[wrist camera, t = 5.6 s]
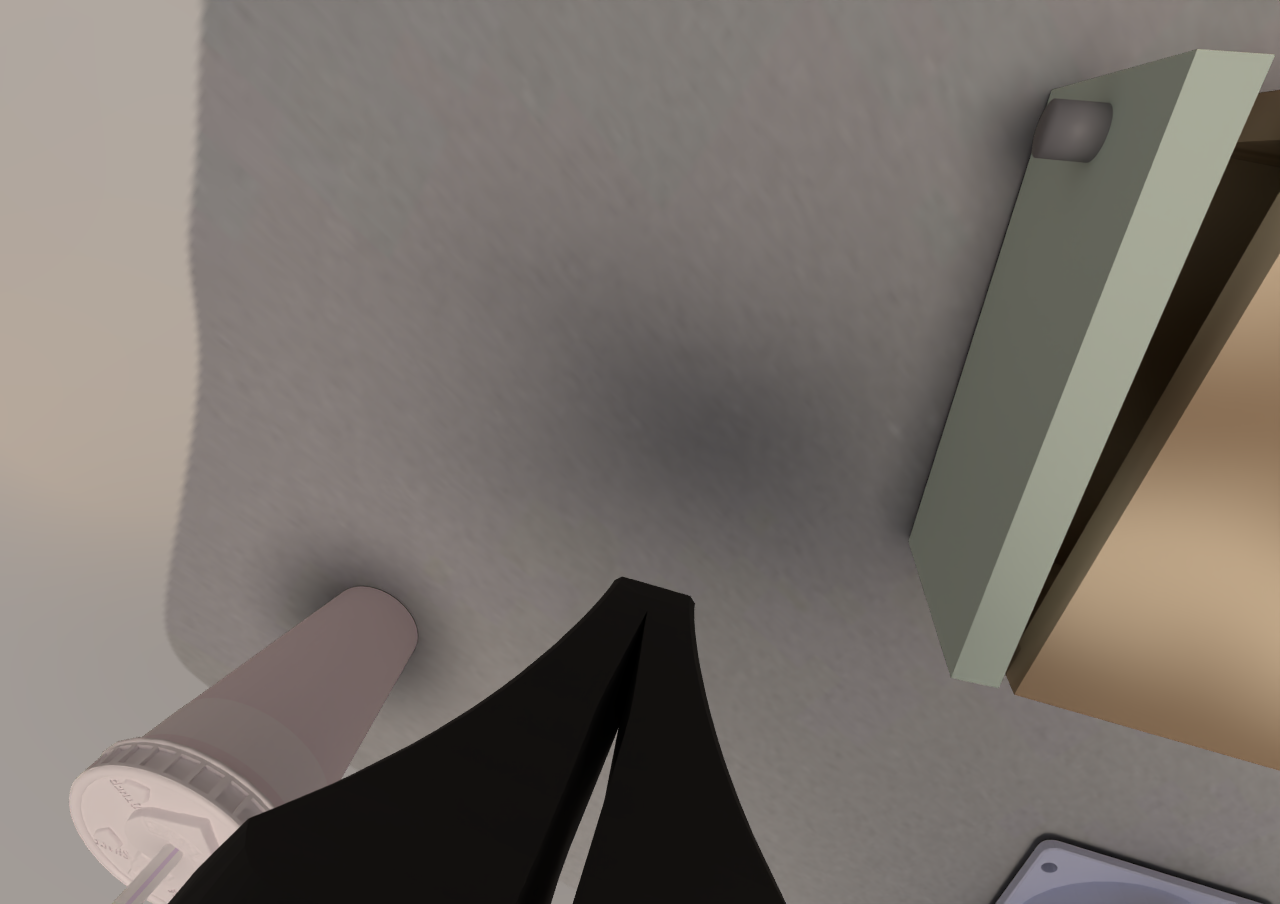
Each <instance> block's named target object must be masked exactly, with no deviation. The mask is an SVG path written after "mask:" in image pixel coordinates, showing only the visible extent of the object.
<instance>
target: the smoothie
mask: <svg viewBox="0 0 1280 904" xmlns="http://www.w3.org/2000/svg"><path fill="white" fill-rule="evenodd" d="M417 640H418V633H417V627H416V624H415V622H414V620H413V618H412V616H411V615H410V613H409V612H408V610H407V609H406V608H405V607H404V606H403V605H402V604H401V603H400V602H399V601H398V600H397V599H395V598H394V597H392V596H391V595H389V594H387V593H385V592H383V591H381V590H378V589H375V588H371V587H364V586H359V587H352V588H349V589H347V590H345V591H343V592H342V593H341V594H339V595H338V596H336V597H335V598H334V599H332V600H331V601H330V602H328V603H327V604H325V605H324V606H323V607H321V608H320V609H318V610H317V611H316V612H314V613H313V614H311V615H310V616H309V617H307V618H306V619H305V620H303V621H302V622H300V623H299V624H298V625H296V626H295V627H293V628H292V629H291V630H289V631H288V632H286V633H285V634H284V635H282V636H281V637H280V638H278V639H277V640H275V641H274V642H273V643H271V644H270V645H268V646H267V647H266V648H264V649H263V650H261V651H260V652H259V653H257V654H256V655H255V656H253V657H252V658H250V659H249V660H248V661H246V662H245V663H243V664H242V665H241V666H239V667H238V668H236V669H235V670H234V671H232V672H231V673H230V674H228V675H227V676H225V677H224V678H223V679H221V680H220V681H218V682H217V683H216V684H214V685H213V686H212V687H210V688H209V689H207V690H206V691H205V692H203V693H202V694H200V695H199V696H198V697H196V698H195V699H193V700H192V701H191V702H189V703H188V704H186V705H184V706H183V707H182V708H180V709H179V710H178V711H176V712H175V713H174V714H172V715H171V716H170V717H168V718H167V719H165V720H164V721H163V722H161V723H160V724H159V725H158V726H156V727H155V728H154V729H152V730H151V731H149V732H148V733H147V734H145V735H144V736H143V737H137V738H132V739H126V740H121V741H118V742H116V743H115V744H113V745H112V746H110V747H109V748H107V749H106V750H105V751H103V753H102V754H101V756H100V758H99V759H98V760H97V761H95V762H94V763H93V764H92V765H91V766H90V767H88V768H87V769H86V770H85V771H84V772H83V773H81V774H80V775H79V776H78V777H77V778H76V779H75V781H74V783H73V784H72V787H71V790H70V795H69V807H70V813H71V818H72V820H73V822H74V825H75V827H76V829H77V832H78V834H79V835H80V837H81V838H82V840H83V842H84V843H85V844H86V846H87V848H88V849H89V850H90V851H91V852H92V854H93V855H94V856H95V857H96V858H97V860H98V861H99V862H100V863H101V864H102V865H103V866H104V867H105V868H106V869H107V870H108V871H109V872H110V873H111V874H112V875H113V876H114V877H116V878H117V879H118V880H119V881H121V882H122V883H123V884H124V885H126V886H127V888H126V889H125V890H124V891H123V892H122V893H121V894H120V895H119V897H118V898H117V899H116V900H115V901H114V902H113V903H112V904H143V902H144V901H145V900H147V901H149V902H151V903H153V904H168V903H169V902H170V900H171V899H172V898H173V897H174V896H175V894H176V893H177V892H178V891H179V890H180V889H181V887H182V886H183V885H184V884H185V883H186V881H187V880H188V879H189V878H190V877H191V875H192V874H193V873H194V872H195V871H196V870H197V869H198V868H199V867H200V866H201V865H202V864H203V863H204V862H205V861H206V860H207V859H208V858H209V857H210V856H211V855H212V854H213V853H214V852H215V851H216V850H217V849H218V848H219V847H220V846H221V845H222V844H223V843H224V842H225V841H226V840H227V839H228V838H229V837H230V836H231V835H232V834H233V833H234V832H235V831H236V830H237V829H238V828H239V827H240V826H241V825H242V824H243V823H244V822H245V821H246V820H247V819H248V818H250V817H253V816H256V815H258V814H261V813H263V812H266V811H268V810H271V809H273V808H275V807H278V806H280V805H283V804H285V803H287V802H290V801H292V800H295V799H297V798H299V797H302V796H304V795H307V794H309V793H311V792H314V791H316V790H318V789H321V788H323V787H326V786H328V785H330V784H333V783H335V782H337V781H339V780H341V778H342V777H343V775H344V773H345V771H346V770H347V768H348V766H349V764H350V762H351V761H352V759H353V757H354V755H355V754H356V752H357V750H358V748H359V747H360V745H361V743H362V741H363V739H364V738H365V736H366V734H367V732H368V731H369V729H370V727H371V725H372V724H373V722H374V720H375V718H376V716H377V715H378V713H379V711H380V709H381V708H382V706H383V704H384V702H385V701H386V699H387V697H388V695H389V693H390V692H391V690H392V688H393V686H394V685H395V683H396V681H397V679H398V678H399V676H400V674H401V672H402V670H403V669H404V667H405V665H406V663H407V662H408V660H409V658H410V656H411V655H412V653H413V651H414V649H415V647H416V645H417Z"/></svg>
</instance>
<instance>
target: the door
mask: <svg viewBox="0 0 1280 904" xmlns="http://www.w3.org/2000/svg"><path fill="white" fill-rule="evenodd" d="M1274 56H1275V54H1260V53H1246V52H1232V51H1217V50H1203V49H1196V50H1192V51H1189V52H1185V53H1182V54H1178V55H1175V56H1171V57H1167V58H1164V59H1160V60H1157V61H1153V62H1149V63H1146V64H1142V65H1139V66H1135V67H1132V68H1128V69H1124V70H1121V71H1117V72H1114V73H1110V74H1106V75H1103V76H1099V77H1096V78H1092V79H1089V80H1085V81H1081V82H1078V83H1074V84H1071V85H1067V86H1064V87H1060V88H1056V89H1053V90H1052V91H1051V94H1050V97H1049V100H1048V103H1047V106H1046V108H1045V109H1044V111H1043V113H1042V115H1041V117H1040V120H1039V122H1038V125H1037V127H1036V130H1035V134H1034V138H1033V143H1032V154H1031V157H1030V160H1029V163H1028V166H1027V169H1026V173H1025V176H1024V179H1023V182H1022V185H1021V188H1020V191H1019V195H1018V198H1017V201H1016V204H1015V207H1014V210H1013V213H1012V217H1011V220H1010V223H1009V226H1008V229H1007V232H1006V236H1005V239H1004V242H1003V245H1002V248H1001V251H1000V254H999V258H998V261H997V264H996V267H995V270H994V273H993V277H992V280H991V283H990V286H989V289H988V292H987V295H986V299H985V302H984V305H983V308H982V311H981V314H980V318H979V321H978V324H977V327H976V330H975V333H974V336H973V340H972V343H971V346H970V349H969V352H968V355H967V359H966V362H965V365H964V368H963V371H962V374H961V377H960V381H959V384H958V387H957V390H956V393H955V396H954V399H953V403H952V406H951V409H950V412H949V415H948V418H947V422H946V425H945V428H944V431H943V434H942V437H941V440H940V444H939V447H938V450H937V453H936V456H935V459H934V463H933V466H932V469H931V472H930V475H929V478H928V481H927V485H926V488H925V491H924V494H923V497H922V500H921V504H920V507H919V510H918V513H917V516H916V519H915V522H914V526H913V529H912V532H911V535H910V538H909V541H908V542H909V545H910V549H911V552H912V555H913V558H914V561H915V565H916V568H917V571H918V574H919V577H920V581H921V584H922V587H923V590H924V593H925V596H926V600H927V603H928V606H929V609H930V612H931V616H932V619H933V622H934V625H935V628H936V632H937V635H938V638H939V641H940V644H941V648H942V651H943V654H944V657H945V660H946V664H947V667H948V670H949V673H950V676H951V678H953V679H958V680H962V681H967V682H972V683H976V684H981V685H986V686H991V687H995V688H999V686H1000V684H1001V682H1002V679H1003V677H1004V675H1005V672H1006V670H1007V668H1008V666H1009V663H1010V661H1011V659H1012V656H1013V654H1014V652H1015V650H1016V647H1017V645H1018V643H1019V640H1020V638H1021V636H1022V634H1023V631H1024V629H1025V627H1026V624H1027V622H1028V620H1029V618H1030V615H1031V613H1032V611H1033V608H1034V606H1035V604H1036V601H1037V599H1038V597H1039V595H1040V592H1041V590H1042V588H1043V585H1044V583H1045V581H1046V579H1047V576H1048V574H1049V572H1050V569H1051V567H1052V565H1053V563H1054V560H1055V558H1056V556H1057V553H1058V551H1059V549H1060V547H1061V544H1062V542H1063V540H1064V537H1065V535H1066V533H1067V530H1068V528H1069V526H1070V524H1071V521H1072V519H1073V517H1074V514H1075V512H1076V510H1077V508H1078V505H1079V503H1080V501H1081V498H1082V496H1083V494H1084V492H1085V489H1086V487H1087V485H1088V482H1089V480H1090V478H1091V476H1092V473H1093V471H1094V469H1095V466H1096V464H1097V462H1098V460H1099V457H1100V455H1101V453H1102V450H1103V448H1104V446H1105V443H1106V441H1107V439H1108V437H1109V434H1110V432H1111V430H1112V427H1113V425H1114V423H1115V421H1116V418H1117V416H1118V414H1119V411H1120V409H1121V407H1122V405H1123V402H1124V400H1125V398H1126V395H1127V393H1128V391H1129V389H1130V386H1131V384H1132V382H1133V379H1134V377H1135V375H1136V372H1137V370H1138V368H1139V366H1140V363H1141V361H1142V359H1143V356H1144V354H1145V352H1146V350H1147V347H1148V345H1149V343H1150V340H1151V338H1152V336H1153V334H1154V331H1155V329H1156V327H1157V324H1158V322H1159V320H1160V318H1161V315H1162V313H1163V311H1164V308H1165V306H1166V304H1167V301H1168V299H1169V297H1170V295H1171V292H1172V290H1173V288H1174V285H1175V283H1176V281H1177V279H1178V276H1179V274H1180V272H1181V269H1182V267H1183V265H1184V263H1185V260H1186V258H1187V256H1188V253H1189V251H1190V249H1191V247H1192V244H1193V242H1194V240H1195V237H1196V235H1197V233H1198V230H1199V228H1200V226H1201V224H1202V221H1203V219H1204V217H1205V214H1206V212H1207V210H1208V208H1209V205H1210V203H1211V201H1212V198H1213V196H1214V194H1215V192H1216V189H1217V187H1218V185H1219V182H1220V180H1221V178H1222V176H1223V173H1224V171H1225V169H1226V166H1227V164H1228V162H1229V159H1230V157H1231V155H1232V153H1233V150H1234V148H1235V146H1236V143H1237V141H1238V139H1239V137H1240V134H1241V132H1242V130H1243V127H1244V125H1245V123H1246V121H1247V118H1248V116H1249V114H1250V111H1251V109H1252V107H1253V105H1254V102H1255V100H1256V98H1257V95H1258V93H1259V91H1260V88H1261V86H1262V84H1263V82H1264V79H1265V77H1266V75H1267V72H1268V70H1269V68H1270V66H1271V63H1272V61H1273V59H1274Z"/></svg>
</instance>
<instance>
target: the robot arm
mask: <svg viewBox="0 0 1280 904" xmlns="http://www.w3.org/2000/svg"><path fill="white" fill-rule="evenodd" d="M694 607H695V603H694V601H693V600H692V598H691V596H688V595H685V594H681V593H678V592H674V591H671V590H667V589H664V588H660V587H657V586H653V585H650V584H647V583H643V582H640V581H636V580H633V579H629V578H626V577H621V578H618V579H616V580H615V581H614V582H613V584H612V585H611V586H610V588H609V589H608V590H607V591H606V593H605V594H604V595H603V596H602V597H601V599H600V600H599V601H598V602H597V603H596V604H595V605H594V606H593V607H592V609H591V610H590V611H589V612H588V613H587V614H586V615H585V616H584V617H583V618H582V619H581V620H580V621H579V622H578V623H577V624H576V625H575V626H574V627H573V628H572V629H570V630H569V631H568V632H567V633H566V634H565V635H564V636H563V637H562V638H561V639H560V640H559V641H558V642H557V643H556V644H555V645H553V646H552V647H551V648H550V649H549V650H548V651H546V652H545V653H544V654H543V655H542V656H540V657H539V658H538V659H537V660H536V661H534V662H533V663H532V664H531V665H530V666H528V667H527V668H526V669H525V670H524V671H522V672H521V673H520V674H519V675H517V676H516V677H515V678H513V679H512V680H511V681H509V682H508V683H507V684H505V685H504V686H503V687H501V688H500V689H499V690H497V691H496V692H494V693H493V694H492V695H490V696H489V697H487V698H486V699H484V700H483V701H481V702H480V703H479V704H477V705H476V706H474V707H473V708H471V709H470V710H468V711H466V712H465V713H463V714H462V715H460V716H458V717H457V718H455V719H454V720H452V721H450V722H449V723H447V724H445V725H444V726H442V727H441V728H439V729H437V730H436V731H434V732H432V733H431V734H429V735H427V736H425V737H424V738H422V739H420V740H418V741H417V742H415V743H413V744H411V745H409V746H408V747H406V748H404V749H402V750H400V751H398V752H396V753H394V754H392V755H390V756H388V757H386V758H384V759H382V760H380V761H378V762H376V763H374V764H372V765H370V766H368V767H366V768H364V769H362V770H360V771H358V772H356V773H354V774H352V775H350V776H348V777H346V778H344V779H341V780H339V781H337V782H335V783H333V784H330V785H328V786H326V787H323V788H321V789H318V790H316V791H314V792H311V793H309V794H307V795H304V796H302V797H299V798H297V799H295V800H292V801H290V802H287V803H285V804H283V805H280V806H278V807H275V808H273V809H271V810H268V811H266V812H263V813H261V814H258V815H256V816H253V817H250V818H248V819H247V820H246V821H245V822H244V823H243V824H242V825H241V826H240V827H239V828H238V829H237V830H236V831H235V832H234V833H233V834H232V835H231V836H230V837H229V838H228V839H227V840H226V841H225V842H224V843H223V844H222V845H221V846H220V847H219V848H218V849H217V850H216V851H215V852H214V853H213V854H212V855H211V856H210V857H209V858H208V859H207V860H206V861H205V862H204V863H203V864H202V865H201V866H200V867H199V868H198V869H197V870H196V871H195V872H194V873H193V874H192V875H191V877H190V878H189V879H188V880H187V881H186V883H185V884H184V885H183V886H182V887H181V889H180V890H179V891H178V892H177V893H176V894H175V896H174V897H173V898H172V899H171V900H170V902H169V903H168V904H551V901H552V898H553V895H554V891H555V889H556V885H557V882H558V879H559V876H560V873H561V871H562V868H563V865H564V862H565V860H566V857H567V854H568V851H569V849H570V846H571V843H572V841H573V839H574V836H575V834H576V831H577V829H578V826H579V824H580V821H581V819H582V816H583V814H584V812H585V809H586V807H587V804H588V802H589V799H590V797H591V794H592V792H593V789H594V787H595V784H596V782H597V780H598V777H599V775H600V772H601V770H602V767H603V765H604V762H605V760H606V757H607V755H608V752H609V750H610V747H611V745H612V743H613V740H614V738H615V735H616V733H617V730H618V734H617V739H616V744H615V749H614V754H613V759H612V764H611V770H610V775H609V780H608V785H607V790H606V795H605V800H604V804H603V807H602V810H601V814H600V817H599V820H598V823H597V827H596V830H595V833H594V836H593V840H592V843H591V846H590V849H589V853H588V856H587V859H586V862H585V866H584V869H583V872H582V875H581V879H580V882H579V885H578V888H577V891H576V895H575V898H574V901H573V904H786V902H785V900H784V898H783V896H782V894H781V892H780V890H779V888H778V886H777V884H776V882H775V879H774V877H773V875H772V873H771V871H770V869H769V867H768V865H767V863H766V861H765V858H764V856H763V854H762V852H761V850H760V848H759V846H758V844H757V842H756V840H755V837H754V835H753V833H752V831H751V828H750V826H749V823H748V821H747V818H746V816H745V814H744V811H743V809H742V806H741V804H740V801H739V799H738V796H737V794H736V791H735V788H734V786H733V783H732V780H731V777H730V775H729V772H728V769H727V766H726V763H725V760H724V757H723V754H722V751H721V748H720V745H719V742H718V738H717V735H716V731H715V728H714V724H713V721H712V717H711V713H710V709H709V705H708V701H707V697H706V693H705V688H704V683H703V678H702V674H701V669H700V664H699V658H698V651H697V644H696V636H695V624H694ZM618 728H619V729H618ZM995 904H1262V903H1258V902H1255V901H1252V900H1249V899H1245V898H1242V897H1239V896H1236V895H1232V894H1229V893H1226V892H1223V891H1219V890H1216V889H1213V888H1210V887H1206V886H1203V885H1200V884H1197V883H1193V882H1190V881H1187V880H1184V879H1180V878H1177V877H1174V876H1171V875H1168V874H1164V873H1161V872H1158V871H1155V870H1151V869H1148V868H1145V867H1142V866H1138V865H1135V864H1132V863H1129V862H1125V861H1122V860H1119V859H1116V858H1112V857H1109V856H1106V855H1103V854H1099V853H1096V852H1093V851H1090V850H1086V849H1083V848H1080V847H1077V846H1073V845H1070V844H1067V843H1064V842H1060V841H1057V840H1045V841H1042V842H1041V843H1040V844H1039V845H1038V846H1037V847H1036V848H1035V850H1034V851H1033V852H1032V854H1031V855H1030V857H1029V858H1028V859H1027V861H1026V862H1025V864H1024V865H1023V866H1022V868H1021V869H1020V870H1019V872H1018V873H1017V875H1016V876H1015V877H1014V879H1013V880H1012V881H1011V883H1010V884H1009V886H1008V887H1007V888H1006V890H1005V891H1004V892H1003V894H1002V895H1001V897H1000V898H999V899H998V901H997V902H996V903H995Z"/></svg>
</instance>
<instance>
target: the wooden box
mask: <svg viewBox="0 0 1280 904" xmlns="http://www.w3.org/2000/svg"><path fill="white" fill-rule="evenodd" d="M1005 674H1006V676H1007V679H1008V681H1009V683H1010V686H1011V688H1012V691H1013V693H1014V695H1018V696H1021V697H1025V698H1028V699H1032V700H1035V701H1039V702H1042V703H1046V704H1049V705H1053V706H1056V707H1060V708H1063V709H1067V710H1070V711H1074V712H1077V713H1081V714H1084V715H1088V716H1091V717H1095V718H1098V719H1102V720H1105V721H1109V722H1112V723H1116V724H1119V725H1123V726H1126V727H1130V728H1133V729H1137V730H1140V731H1144V732H1147V733H1151V734H1154V735H1157V736H1161V737H1164V738H1168V739H1171V740H1175V741H1178V742H1182V743H1185V744H1189V745H1192V746H1196V747H1199V748H1203V749H1206V750H1210V751H1213V752H1217V753H1220V754H1224V755H1227V756H1231V757H1234V758H1238V759H1241V760H1245V761H1248V762H1252V763H1255V764H1259V765H1262V766H1266V767H1269V768H1273V769H1276V770H1280V90H1275V91H1269V92H1262V93H1258V95H1257V98H1256V100H1255V102H1254V105H1253V107H1252V109H1251V111H1250V114H1249V116H1248V118H1247V121H1246V123H1245V125H1244V127H1243V130H1242V132H1241V134H1240V137H1239V139H1238V141H1237V143H1236V146H1235V148H1234V150H1233V153H1232V155H1231V157H1230V159H1229V162H1228V164H1227V166H1226V169H1225V171H1224V173H1223V176H1222V178H1221V180H1220V182H1219V185H1218V187H1217V189H1216V192H1215V194H1214V196H1213V198H1212V201H1211V203H1210V205H1209V208H1208V210H1207V212H1206V214H1205V217H1204V219H1203V221H1202V224H1201V226H1200V228H1199V230H1198V233H1197V235H1196V237H1195V240H1194V242H1193V244H1192V247H1191V249H1190V251H1189V253H1188V256H1187V258H1186V260H1185V263H1184V265H1183V267H1182V269H1181V272H1180V274H1179V276H1178V279H1177V281H1176V283H1175V285H1174V288H1173V290H1172V292H1171V295H1170V297H1169V299H1168V301H1167V304H1166V306H1165V308H1164V311H1163V313H1162V315H1161V318H1160V320H1159V322H1158V324H1157V327H1156V329H1155V331H1154V334H1153V336H1152V338H1151V340H1150V343H1149V345H1148V347H1147V350H1146V352H1145V354H1144V356H1143V359H1142V361H1141V363H1140V366H1139V368H1138V370H1137V372H1136V375H1135V377H1134V379H1133V382H1132V384H1131V386H1130V389H1129V391H1128V393H1127V395H1126V398H1125V400H1124V402H1123V405H1122V407H1121V409H1120V411H1119V414H1118V416H1117V418H1116V421H1115V423H1114V425H1113V427H1112V430H1111V432H1110V434H1109V437H1108V439H1107V441H1106V443H1105V446H1104V448H1103V450H1102V453H1101V455H1100V457H1099V460H1098V462H1097V464H1096V466H1095V469H1094V471H1093V473H1092V476H1091V478H1090V480H1089V482H1088V485H1087V487H1086V489H1085V492H1084V494H1083V496H1082V498H1081V501H1080V503H1079V505H1078V508H1077V510H1076V512H1075V514H1074V517H1073V519H1072V521H1071V524H1070V526H1069V528H1068V530H1067V533H1066V535H1065V537H1064V540H1063V542H1062V544H1061V547H1060V549H1059V551H1058V553H1057V556H1056V558H1055V560H1054V563H1053V565H1052V567H1051V569H1050V572H1049V574H1048V576H1047V579H1046V581H1045V583H1044V585H1043V588H1042V590H1041V592H1040V595H1039V597H1038V599H1037V601H1036V604H1035V606H1034V608H1033V611H1032V613H1031V615H1030V618H1029V620H1028V622H1027V624H1026V627H1025V629H1024V631H1023V634H1022V636H1021V638H1020V640H1019V643H1018V645H1017V647H1016V650H1015V652H1014V654H1013V656H1012V659H1011V661H1010V663H1009V666H1008V668H1007V670H1006V672H1005Z"/></svg>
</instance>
